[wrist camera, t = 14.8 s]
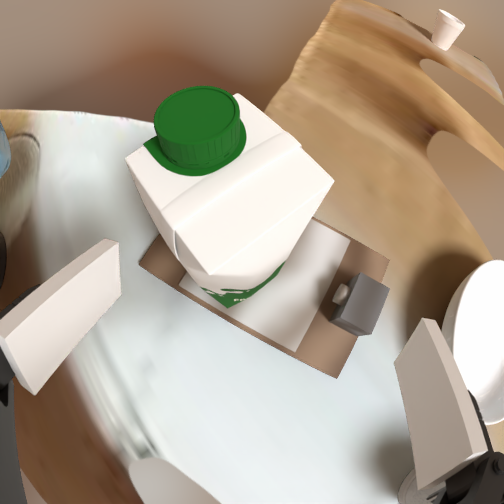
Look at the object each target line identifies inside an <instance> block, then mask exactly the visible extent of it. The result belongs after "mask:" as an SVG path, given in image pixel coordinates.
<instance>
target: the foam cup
mask: <svg viewBox="0 0 504 504" xmlns="http://www.w3.org/2000/svg"><path fill="white" fill-rule="evenodd" d="M464 27H465V25H464V24H463V23H462V22H461V21H460V20H458V19H457V18H456V17H454V16H452V15H451V14H449V13H447V12H445V11H443V10H441V9H439V11H438V13H437V18H436V23H435V27H434V30H433V34H432V38H431V41H432V42H433V43H434V44H435V45H436V46H438V47H439V48H441V49H443V50H446V51H447V50H448V49H449V48H450V46H451V45H452V43H453V42H454V41H455V39H456V38H457V37H458V35H459V34H460V33H461V31H463V29H464Z"/></svg>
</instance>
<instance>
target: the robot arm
mask: <svg viewBox="0 0 504 504" xmlns="http://www.w3.org/2000/svg"><path fill="white" fill-rule="evenodd" d="M10 162H11V150H10V146H9V142H8V139H7V136H6V133H5V131H4V128H3V126H2V123H1V121H0V178H1V177H2V176H3V175H4V174H5V172H6V171H7V170H8V168H9V166H10ZM5 265H6V246H5V241H4V238H3V236H2V234H1V232H0V288H1V285H2V281H3V277H4V272H5ZM121 295H122V294H121V281H120V264H119V242H116V241H113V240H109V239H106V238H104V239H103V240H101V241H100V242H99V243H97V244H96V245H94V246H93V247H91V248H90V249H89V250H87V251H86V252H84V253H83V254H82V255H80V256H79V257H77V258H76V259H75V260H73V261H72V262H71V263H69V264H68V265H67V266H65V267H64V268H63V269H61V270H60V271H59V272H57V273H56V274H55V275H53V276H52V277H51V278H50V279H48V280H47V281H46V282H44V283H43V284H42V285H40V284H39V285H36V286H34V287H32V288H29V289H28V290H26V291H25V292H24V293H23V294H21V295H20V296H19V298H17V299H15V300H14V301H13V302H12V304H9V305H8V306H7V307H6V308H5V309H4V310H2V311H1V312H0V504H27V500H26V496H25V492H24V487H23V483H22V478H21V472H20V466H19V460H18V452H17V444H16V434H15V420H14V385H13V381H12V378H13V377H14V376H15V375H16V377H17V379H18V381H19V382H20V384H21V385H22V386H23V387H24V388H26V389H27V390H28V391H30V392H31V393H32V394H34V395H36V394H37V393H38V391H39V390H40V389H41V388H42V386H43V385H44V384H45V383H46V381H47V380H48V379H49V377H50V376H51V375H52V374H53V373H54V371H55V370H56V369H57V368H58V366H59V365H60V364H61V363H62V362H63V360H64V359H65V358H66V357H67V356H68V354H69V353H70V352H71V351H72V350H73V349H74V347H75V346H76V345H77V344H78V343H79V342H80V340H81V339H82V338H83V337H84V336H85V335H86V334H87V332H88V331H89V330H90V329H91V328H92V327H93V326H94V325H95V323H96V322H97V321H98V320H99V319H100V318H101V317H102V316H103V315H104V313H105V312H106V311H107V310H108V309H109V308H110V307H111V306H112V305H113V304H114V303H115V302H116V300H117V299H118V298H119V297H120V296H121ZM394 366H395V370H396V373H397V377H398V381H399V385H400V390H401V394H402V398H403V403H404V407H405V412H406V417H407V422H408V427H409V432H410V438H411V444H412V450H413V456H414V463H415V470H416V478H417V487H418V490H422V489H428V488H433V487H435V486H437V485H439V484H440V483H442V482H444V481H445V483H446V486H445V487H443V488H441V489H439V490H438V491H436V492H434V493H432V494H431V495H429V496H428V497H427V498H426V499H427V500H429V499H431V498H433V497H435V496H437V497H436V498H435V499H433V500H432V501H431V503H433V504H502V503H503V502H504V454H503V453H500V452H494V451H493V448H492V445H491V442H490V438H489V435H488V432H487V429H486V426H485V423H484V420H482V419H483V417H482V414H481V412H479V411H480V409H479V406H478V404H477V401H476V399H475V397H474V396H473V395H472V393H471V392H470V391H469V390H467V387H466V385H465V383H464V380H463V378H462V375H461V373H460V371H459V368H458V366H457V364H456V362H455V360H454V357H453V355H452V353H451V351H450V349H449V347H448V345H447V343H446V340H445V338H444V336H443V334H442V332H441V330H440V328H439V327H438V325H437V323H436V321H435V320H432V319H427V318H422V319H421V320H420V322H419V324H418V326H417V327H416V329H415V331H414V332H413V334H412V335H411V337H410V339H409V340H408V342H407V343H406V345H405V346H404V348H403V350H402V351H401V353H400V354H399V356H398V357H397V359H396V360H395V361H394Z"/></svg>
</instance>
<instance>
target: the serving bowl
mask: <svg viewBox="0 0 504 504" xmlns="http://www.w3.org/2000/svg"><path fill="white" fill-rule="evenodd" d="M441 332H442V334H443V336H444V338H445V340H446V343H447V345H448V347H449V349H450V351H451V353H452V355H453V357H454V360H455V362H456V364H457V366H458V368H459V371H460V373H461V375H462V378H463V380H464V383H465V385H466V387H467V390H469V391H470V392H471V393H472V395H473V396H474V397H475V399H476V401H477V404H478V406H479V409H480V411H479V412H481V414H482V417H483V419H482V420H484V423H485V425H492V424H496V423H498V422H501V421H502V420H504V261H502V260H490V261H487V262H485V263H483V264H481V265H480V266H479V267H477V268H476V269H475V270H474V271H472V272H471V273H470V274H469V275H468V276H467V277H466V278H465V279H464V280H463V282H462V283H461V284H460V286H459V287H458V288H457V290H456V292H455V293H454V295H453V297H452V299H451V301H450V303H449V306H448V308H447V311H446V314H445V317H444V321H443V325H442V331H441Z"/></svg>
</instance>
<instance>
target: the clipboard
mask: <svg viewBox="0 0 504 504" xmlns="http://www.w3.org/2000/svg"><path fill="white" fill-rule="evenodd" d="M389 261H390V260H389V259H387V258H386V257H384V256H382V255H381V254H379V253H377V252H375V251H374V250H372V249H370V248H369V247H367V246H365V245H363V244H362V243H360V242H358V241H356V240H355V239H353V238H351V237H349V236H347V235H346V234H344V233H342V232H340V231H338V230H337V229H335V228H333V227H331V226H329V225H327V224H326V223H324V222H322V221H320V220H318V219H316V218H314V217H312V218H311V220H310V221H309V223H308V224H307V226H306V228H305V229H304V231H303V233H302V234H301V236H300V238H299V239H298V241H297V243H296V244H295V246H294V248H293V249H292V251H291V253H290V255H289V256H288V258H287V260H286V261H285V263H284V265H283V267H282V268H281V270H280V272H279V273H278V275H277V276H276V277H275V278H274V279H272V280H271V281H270V282H269V283H267V284H266V285H265V286H264V287H262V288H261V289H260V290H259V291H257V292H256V293H255V294H254V295H252V296H251V297H249V298H247V299H246V300H244V301H242V302H240V303H238V304H236V305H234V306H232V307H230V308H228V309H227V308H226V307H225V306H223V305H222V304H221V303H219V302H218V301H217V300H215V299H214V298H213V297H211V296H210V295H209V294H207V293H206V292H205V291H204V290H203V289H202V288H201V287H200V286H198V285H197V283H196V282H195V281H194V280H193V278H192V277H191V276H190V274H189V273H188V272H187V270H186V269H185V268H184V266H183V265H182V264H181V262H180V261H179V260H178V259H177V258H176V257H175V255H174V254H173V252H172V251H171V250H170V248H169V247H168V245H167V244H166V242H165V240H164V239H163V237H162V236H161V234H160V233H159V235H158V236H157V238H156V239H155V241H154V242H153V244H152V245H151V246H150V248H149V249H148V251H147V252H146V254H145V255H144V257H143V258H142V260H141V262H140V263H139V265H140V266H141V267H142V268H144V269H145V270H147V271H148V272H150V273H151V274H153V275H154V276H156V277H157V278H159V279H160V280H162V281H164V282H165V283H167V284H168V285H170V286H171V287H173V288H174V289H176V290H177V291H179V292H181V293H182V294H184V295H185V296H187V297H189V298H190V299H192V300H193V301H195V302H197V303H198V304H200V305H202V306H203V307H205V308H206V309H208V310H210V311H211V312H213V313H215V314H216V315H218V316H220V317H222V318H223V319H225V320H227V321H228V322H230V323H232V324H233V325H235V326H237V327H239V328H240V329H242V330H244V331H246V332H247V333H249V334H251V335H253V336H255V337H256V338H258V339H260V340H262V341H264V342H265V343H267V344H269V345H271V346H273V347H275V348H277V349H278V350H280V351H282V352H284V353H286V354H288V355H290V356H292V357H294V358H296V359H298V360H299V361H301V362H303V363H305V364H307V365H309V366H311V367H313V368H315V369H317V370H319V371H321V372H323V373H325V374H327V375H330V376H332V377H334V378H336V379H337V378H338V376H339V374H340V372H341V370H342V368H343V366H344V364H345V363H346V361H347V359H348V357H349V355H350V353H351V351H352V349H353V346H354V344H355V342H356V340H357V338H358V336H362V335H369V334H372V331H373V329H374V327H375V325H376V322H377V320H378V318H379V315H380V313H381V310H382V308H383V305H384V303H385V300H386V298H387V295H388V293H389V290H390V288H388V287H386V286H385V285H383V284H381V282H382V279H383V277H384V274H385V272H386V269H387V266H388V263H389Z"/></svg>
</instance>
